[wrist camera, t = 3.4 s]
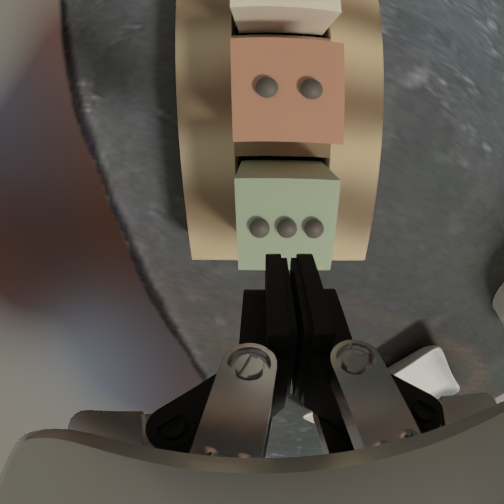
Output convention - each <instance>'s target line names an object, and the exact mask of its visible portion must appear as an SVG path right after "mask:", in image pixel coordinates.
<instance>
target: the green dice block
mask: <svg viewBox="0 0 504 504" xmlns="http://www.w3.org/2000/svg"><path fill="white" fill-rule="evenodd" d="M340 184H341V180H340V179H339V178H338V177H337V176H336V175H335V174H334V173H333V172H332V171H331V170H330V169H329V168H328V167H327V166H326V165H325V164H324V163H323V162H321V161H304V160H242V161H241V164H240V166H239V168H238V171H237V173H236V175H235V178H234V185H235V209H236V230H237V251H238V270H265V260H266V254H281V258H287V263H288V269H289V270H290V263H291V258H296V255H297V254H312V255H313V257H314V260H315V264H316V267H317V270H330V268H331V261H332V254H333V247H334V240H335V232H336V224H337V215H338V205H339V195H340Z"/></svg>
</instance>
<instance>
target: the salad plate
mask: <svg viewBox="0 0 504 504" xmlns="http://www.w3.org/2000/svg"><path fill="white" fill-rule="evenodd" d="M387 369H388V370H389V372H390V373H391V374H393V375H395V376H397V377H398V378H400V379H402V380H404V381H406V382H408V383H410V384H412V385H413V386H415V387H417V388H419V389H421V390H423V391H425V392H427V393H429V394H431V395H432V396H434V397H435V398H437V399H439V398H440V397H441V396H450V395H454V394H455V393H457V392H458V391H459V389H460V387H459V385H458V383H457V381H456V380H455V378H454V376H453V374H452V372H451V370H450V368H449V365H448V363H447V360H446V357H445V355H444V353H443V351H442V349H441V347H439V346H437V345H430V346H426V347H423V348H421V349H419V350H417V351H415V352H414V353H412V354H410V355H409V356H407V357H405V358H403V359H402V360H400V361H398V362H396V363H395V364H393V365H391V366H390V367H388V368H387ZM303 418H304V419H306V420H308V421H310V422H312V423H314V419H313V412H312V411H311V410H309V409H308V410H307V411H306V412H305V413H304V415H303Z"/></svg>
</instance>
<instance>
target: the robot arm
mask: <svg viewBox="0 0 504 504" xmlns="http://www.w3.org/2000/svg"><path fill="white" fill-rule="evenodd" d="M291 380H292V385H293V394H294V395H299V399H300V403H304V404H305V407H307V408H308V409H309V410H311V411H312V412H313V419H314V423H315V426H316V429H317V433H318V436H319V440H320V443H321V446H322V450H323V453H324V455H315V456H304V457H288V458H266V452H267V447H268V441H269V436H270V430H271V424H272V417H273V416H275V415H276V414H277V413H278V412H279V411H280V410H282V409H283V408H284V406H285V399H286V395H289V392H290V386H291ZM0 504H504V402H501V403H498V404H496V402H495V399H494V398H493V397H492V396H491V395H489V394H487V393H474V394H463V395H450V396H441V397H440V398H439V399H437V398H435V397H434V396H432V395H431V394H429V393H427V392H425V391H423V390H421V389H419V388H417V387H415V386H413V385H412V384H410V383H408V382H406V381H404V380H402V379H400V378H398V377H397V376H395V375H393V374H391V373H390V372H389V370H388V369H387V367H386V365H385V363H384V361H383V360H382V358H381V356H380V354H379V353H378V351H377V350H376V349H375V348H374V347H373V346H372V345H370V344H369V343H366V342H364V341H361V340H355V339H353V340H352V337H351V334H350V331H349V328H348V325H347V322H346V319H345V316H344V313H343V310H342V307H341V304H340V301H339V299H338V296H337V293H336V291H335V289H323V286H322V283H321V279H320V276H319V273H318V270H317V267H316V264H315V260H314V257H313V255H312V254H297V255H296V258H291V263H290V275H289V269H288V263H287V258H281V254H266V260H265V290H244V294H243V306H242V317H241V329H240V341H239V345H236V346H234V347H232V348H230V349H229V350H228V351H227V352H226V353H225V354H224V356H223V358H222V360H221V363H220V366H219V369H218V371H217V373H216V374H215V375H213V376H212V377H210V378H209V379H207V380H206V381H204V382H202V383H201V384H199V385H198V386H196V387H195V388H193V389H191V390H190V391H188V392H186V393H185V394H183V395H182V396H180V397H178V398H176V399H175V400H173V401H171V402H170V403H168V404H166V405H165V406H163V407H161V408H159V409H158V410H157V411H155V412H154V413H153V414H144V413H143V412H142V411H94V410H85V411H80V412H78V413H76V414H75V415H74V416H73V417H72V418H71V420H70V423H69V426H68V429H43V430H38V431H33V432H30V433H28V434H26V435H24V436H23V437H21V438H20V439H19V441H18V442H17V443H16V444H15V446H14V447H13V449H12V451H11V453H10V454H9V456H8V458H7V461H6V463H5V465H4V467H3V470H2V472H1V475H0Z"/></svg>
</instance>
